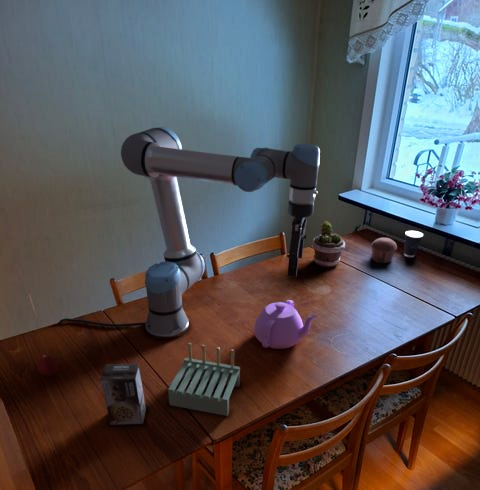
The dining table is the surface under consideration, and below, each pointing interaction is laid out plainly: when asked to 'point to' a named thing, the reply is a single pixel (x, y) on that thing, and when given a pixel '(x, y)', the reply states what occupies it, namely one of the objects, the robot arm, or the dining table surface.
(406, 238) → the dixie cup
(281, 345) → the teapot
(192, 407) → the rack
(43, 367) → the onion
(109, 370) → the coffee box
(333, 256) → the flowerpot
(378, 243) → the muffin
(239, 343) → the dining table surface
